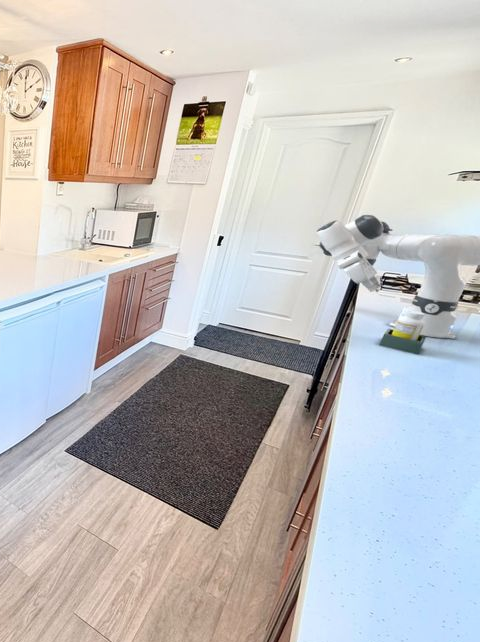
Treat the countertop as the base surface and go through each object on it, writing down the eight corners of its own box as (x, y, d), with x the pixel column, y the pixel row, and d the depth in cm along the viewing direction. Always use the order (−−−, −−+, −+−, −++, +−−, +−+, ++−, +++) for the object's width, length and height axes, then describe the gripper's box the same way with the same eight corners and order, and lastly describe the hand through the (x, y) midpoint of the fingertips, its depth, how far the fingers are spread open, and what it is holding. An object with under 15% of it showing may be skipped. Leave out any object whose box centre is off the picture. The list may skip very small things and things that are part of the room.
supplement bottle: (401, 342, 151) (417, 310, 146) (418, 349, 145) (435, 315, 140) (382, 341, 152) (397, 308, 147) (398, 347, 146) (414, 314, 141)
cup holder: (383, 339, 155) (388, 328, 153) (420, 347, 148) (426, 336, 146) (379, 345, 149) (384, 333, 147) (417, 354, 142) (423, 342, 140)
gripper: (347, 260, 162) (370, 289, 159) (336, 266, 150) (360, 297, 147) (367, 251, 157) (390, 281, 154) (356, 256, 145) (382, 288, 142)
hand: (375, 289), depth 150 cm, fingers open, 8 cm apart
